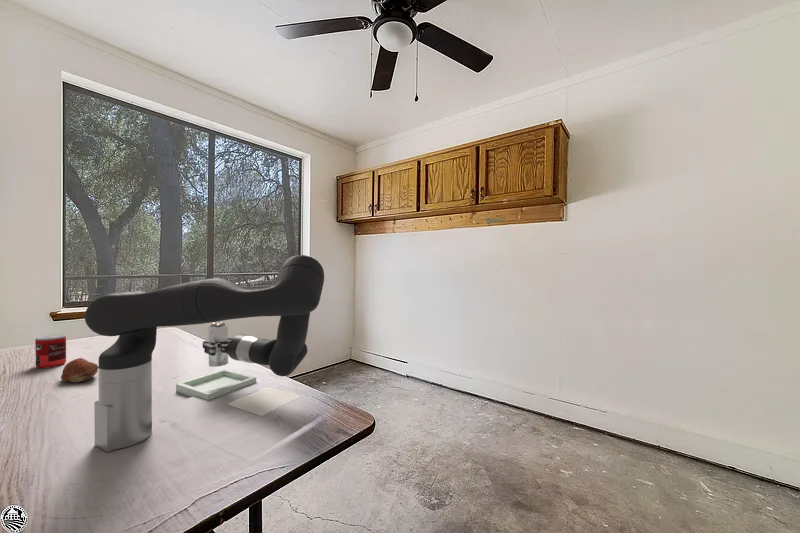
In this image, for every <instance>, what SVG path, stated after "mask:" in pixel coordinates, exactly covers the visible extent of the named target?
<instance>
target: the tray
mask: <svg viewBox="0 0 800 533" xmlns="http://www.w3.org/2000/svg"><path fill="white" fill-rule="evenodd" d="M237 381H238V382H237ZM256 382H257V377H256V376H253V375H249V374H245V373H241V372H237V371H234V370H230V369H226V368H224V369H221V370H217V371H213V372H211V373H207V374H204V375H202V376H197V377H194V378H191V379H188V380H185V381H181V382H178V383H176V384H175V393H178V394H180V395H183V396H186V397H189V398H193V397H199V398H201V399H203V400H206V401H209V400H212V399H215V398H216V397H220V396H222V395H225V394H228V393H231V392H234V391H235V390H239V389H241V388H244V387H246V386H249V385H251V384H254V383H256ZM215 389H216V390H215Z"/></svg>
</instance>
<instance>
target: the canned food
mask: <svg viewBox="0 0 800 533" xmlns="http://www.w3.org/2000/svg"><path fill="white" fill-rule="evenodd" d="M34 344H35V346H34V347H35V366H36V368H37V367H38V368H37V369H46V368H45V367H51V368H54V367H53V366H57V367H59V366H58V365H61V366H63V365H65V364H66V363H67V334H64V333H55V334H53V333H52V334H45V335H40V336H37V337H35V343H34ZM64 363H65V364H64ZM62 364H63V365H62Z"/></svg>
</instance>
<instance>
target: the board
mask: <svg viewBox="0 0 800 533" xmlns="http://www.w3.org/2000/svg"><path fill="white" fill-rule="evenodd" d="M301 397H302V395H300V394H296V393H292V392H289V391H284V390H281V389H277V388H274V387H270V386H268V387H265V388H262V389H260V390H258V391H254V392H253V393H250V394H248V395H245V396H242V397H240V398H237V399H235V400H233V401H231V402H227V405H229V406H231V407H234V408H238V409H241V410H243V411H246V412H249V413H252V414H255V415H258V416H261V417H262V416H263V417H264V416H265V415H267V414H269V413H271V412H273V411H275V410H277V409H279V408H281V407H283V406H285V405H287V404H289V403H291V402H293V401H295V400H298V399H299V398H301Z"/></svg>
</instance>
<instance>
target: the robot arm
mask: <svg viewBox="0 0 800 533" xmlns="http://www.w3.org/2000/svg"><path fill="white" fill-rule="evenodd" d="M324 282H325V272H324V268H323V266H322V264H321V263H320V262H319V261H318V260H317V259H315V258H314V257H311V256H309V255H304V254H299V255H293V256H291V257H289V258H288V259H286V260H285V261H284V262H283V264H282V266H280V269H279V272H278V275H277V278H276V281H275V284H274V285H273V286H270V287H267V288H261V289H246V288H244V287H242V286H240V285H238V284H237V283H235V282H233V281H231V280H227V279H224V278H219V277H214V278H206V279H201V280H195V281H189V282H184V283H180V284H175V285H171V286H167V287H164V288H159V289H155V290H151V291H140V290H138V291H128V292H125V291H124V292H115V293H108V294H104V295H101V296H99V297H97V298H95V299H94V300H93V301H92V302H90V304H89V305H88V306H87V307H86V310H85V313H84V321H85V324H86V325H87V327H88V328H89V330H90V331H92V332H94V333H95V334H97V335H100V336H104V337H117V336H118V339H116V341H115V342H114V343H112V345H110V347H108V348H107V349H105V350H104V351H102V352H101V353H100V355H99V357H98V367H99V368H98V400H96V401H95V402H94V404H93V405H94V445H95V446H96V447H98V448H99V449H101V450H103V451H104V452H106V453H108V452H112V451H115V450H118V449H124V448H128V447H130V446H134V445H136V444H140V442H143V441H145V440H146V439H147V438H149V437H150V436H151V435H152V432H153V412H152V411H153V406H152V405H153V402H152V401H153V400H152V399H153V396H152V395H153V384H152V383H153V382H152V381H153V378H152V377H153V373H152V372H153V371H152V370H153V368H152V367H153V364H152V362H153V357H152V356H153V351H154V350H155V349H156V343H157V330H158V328H159V327H179V326H180V327H181V326H194V325H202V324H209V323H211V324H212V323H217V322H223V321H228V320H235V319H239V320H240V319H245V318H256V317H257V318H258V317H259V318H260V317H261V318H262V317H280V318H279V321H278V325H277V326H278V327H277V332H276V338H275V339H274V338H273V339H267V338H262V337H258V336H254V335H249V334H248V335H247V334H237V335H235V336H234V337H232V336H231V337H228V340H226V341H216V342H210V341H209V340H208V341H207V340H203V341H202V344H201V345H202V348H203V350H204V351H203V352H204V353H205V354H207V355H208V356H209V355H212V356H214V355H216V353H225V354H228V357H230V359H232V360H234V361H239V362H242V363H243V362H244V363H247V364H257V365H261V366H262V365H263V366H269V369H270V370H271V371H272V372H273V374H274V375H276V376H278V377H288V376H289V375H291V374H292V373H293V372H294V371H295V370H296V369H297V367H299V365H300V363H302V361H303V360H304V358H305V357H306V356H307V354H308V346H307V344H306V341H307V336H308V331H309V324H310V315H311V313H312V312H313V311H315V310H316V309H317V308H318V306H319V303H320V301H321V297H322V293H323V292H322V291H323V287H324ZM220 343H222V344H221V345H220Z"/></svg>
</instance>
